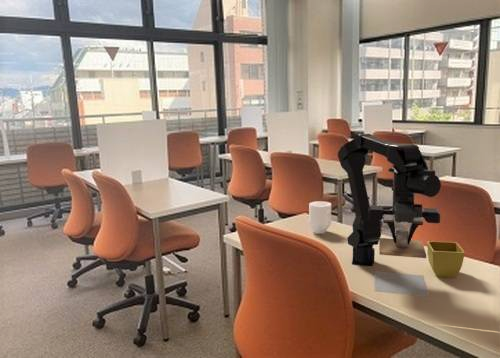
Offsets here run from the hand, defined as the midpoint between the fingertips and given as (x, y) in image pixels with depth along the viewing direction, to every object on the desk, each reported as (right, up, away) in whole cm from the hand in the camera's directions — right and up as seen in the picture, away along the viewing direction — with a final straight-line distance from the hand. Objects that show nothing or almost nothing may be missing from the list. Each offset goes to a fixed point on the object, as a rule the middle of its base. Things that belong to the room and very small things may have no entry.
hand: (401, 243), depth 118 cm
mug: (-14, -4, +50) cm, 52 cm away
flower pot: (+16, -11, +8) cm, 21 cm away
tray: (0, -12, +2) cm, 12 cm away
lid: (0, -2, 0) cm, 2 cm away
